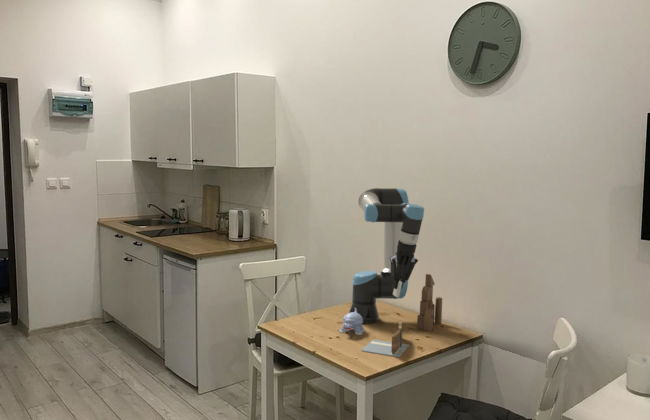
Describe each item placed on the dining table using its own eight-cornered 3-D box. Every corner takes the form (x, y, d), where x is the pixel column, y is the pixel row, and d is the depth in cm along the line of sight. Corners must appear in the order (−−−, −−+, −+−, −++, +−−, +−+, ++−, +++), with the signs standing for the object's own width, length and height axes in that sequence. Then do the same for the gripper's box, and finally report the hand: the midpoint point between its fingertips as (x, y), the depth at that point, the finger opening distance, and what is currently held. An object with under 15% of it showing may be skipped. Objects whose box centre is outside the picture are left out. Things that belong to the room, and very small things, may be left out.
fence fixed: (390, 355, 216) (391, 336, 215) (398, 346, 226) (398, 328, 225) (394, 355, 215) (395, 337, 214) (401, 347, 225) (402, 329, 224)
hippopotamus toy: (334, 335, 238) (335, 314, 238) (344, 326, 253) (345, 306, 252) (358, 338, 235) (358, 317, 234) (366, 329, 249) (367, 309, 248)
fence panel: (400, 345, 226) (401, 328, 225) (398, 344, 226) (398, 328, 225) (401, 335, 238) (401, 320, 237) (398, 335, 238) (398, 320, 237)
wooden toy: (430, 331, 247) (432, 278, 245) (416, 328, 251) (418, 276, 249) (442, 323, 260) (444, 272, 258) (429, 321, 264) (431, 270, 262)
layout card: (361, 351, 220) (361, 350, 220) (372, 340, 233) (372, 339, 233) (399, 357, 213) (399, 356, 213) (408, 345, 227) (408, 344, 227)
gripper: (399, 244, 213) (387, 299, 218) (425, 245, 218) (413, 299, 223) (389, 238, 219) (378, 292, 224) (415, 239, 225) (403, 292, 230)
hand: (395, 295), depth 224 cm, fingers closed
